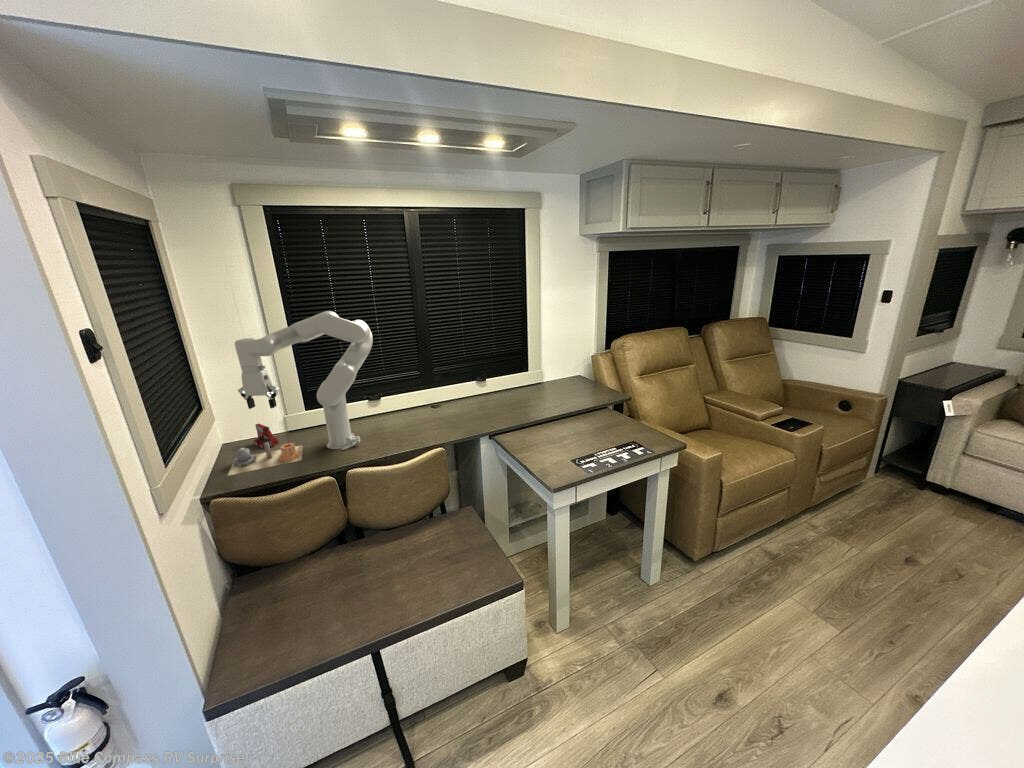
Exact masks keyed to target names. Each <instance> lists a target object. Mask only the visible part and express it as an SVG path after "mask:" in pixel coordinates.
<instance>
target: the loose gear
mask: <svg viewBox="0 0 1024 768" xmlns="http://www.w3.org/2000/svg"><path fill="white" fill-rule="evenodd" d="M295 447H296V445H295V443H294V442H289V443H288V442H287V443H285V444H282V445H280V450H281V452H282V454H280V455H279V461H284V462H287V461H291V460H292V461H293V460H295V459H296V458H299V457H300V451H296V450H295Z"/></svg>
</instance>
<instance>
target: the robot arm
mask: <svg viewBox="0 0 1024 768" xmlns="http://www.w3.org/2000/svg"><path fill="white" fill-rule="evenodd" d="M323 335H326V336H330V337H332V338H335V339H339V340H342V341H345V342H348V343H350V344H349V346H348V347H347V349H346V350H345V352H344V353H343V355H342V357H341V358H340V359H339V360H338V361H337V362H336V364H334V366H333V368H332V370H331V371H330V373H329V374H328V375H327V377H326V378H325V380H323V381H322V383H321V384H320V385H319V387H318V390H317V391H316V399H317V402H318V403H319V404H320V405H321V406H322V409H323V414H324V418H325V424H326V431H327V435H328V440H329V441H328V443H326V447H327V448H328V449H334V450H339V449H340V451H344V450H347V449H350V448H352V447H353V446H355V445H356V443H360V442H361V437H360V435H355V434H354V432H352V430H351V429H352V428H351V423H350V417H349V411H348V408H347V407H348V405H347V397H346V393H347V392H348V390H349V389H350V388H351V386H352V385H353V384H354V381H355V380H356V378H357V374H358V371H359V370H360V369H361V367H362V365H363V364H364V362H365V360H366V359H367V357H368V356H369V354H370V352H371V350H372V347H373V341H374V339H373V333H372V331H371V329H370V326H369V325H368V324H367V323H366V322H365V321H363V320H362V319H355V320H352V321H351V320H349V319H345V318H342V317H340V316H339V315H338V314H337V313H336V312H334V311H332V310H325V311H322V312H320V313H317V314H314V315H313V316H310V317H307V318H304V319H302V320H300V321H297V322H295V323H292V324H291V325H290V326H287V327H284V328H281V329H279V330H276V331H273V332H272V333H269V334H266V335H265V336H263V337H260V338H258V339H255V338H252V337H250V338H248V337H247V338H241V339H237V340H235V342H234V347H235V352H236V355H237V359H238V361H239V367H240V370H241V382H242V383H241V385H242V386H241V387H240V388H239V389H237V391H238V394H240V396H241V397H242V398H243V399H244V401H246V403H247V407H248V410H251V409H253V408H255V407H256V403H255V400H254V398H253V397H255V396H257V397H258V396H265V397H266V398H268V405H269V408H270V409H274V408H276V407H277V400H276V398H277V396H278V392H279V389H280V388H279V387H277V386H274V385H273V383H272V380H271V377H270V376H269V373H268V372H267V370H266V365H263V361H262V358H261V357H270V356H273V355H274V354H276V353H277V352H279V351H280V350H282V349H285V348H287V347H290V346H291V345H292V346H293V345H295V344H299V343H306V342H309V341H311V340H312V341H313V340H314V339H317V338H320V337H321V336H323Z"/></svg>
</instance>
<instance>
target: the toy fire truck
mask: <svg viewBox="0 0 1024 768" xmlns="http://www.w3.org/2000/svg"><path fill="white" fill-rule="evenodd" d="M254 426H255V430H256V432H257V438H256V439H254V440H253V444H254V445H255V446H257V447H259V448H261V449H262V450H265V447H264V443H266V442H269V446H270V447H271V448H273V447H276V445H279V443H280V442H279V439H278V438H277V437H275V436H274V435H273V432H272V430H270V427H269V426H266V425H264V424H261V423H256V424H255V425H254Z"/></svg>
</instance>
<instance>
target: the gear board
mask: <svg viewBox="0 0 1024 768" xmlns="http://www.w3.org/2000/svg"><path fill="white" fill-rule="evenodd" d="M303 446H304V445H303V444H302V445H295V450H296V451H300V457H299V458H296V459H295V460H293V461H292V460H291V461H287V462H284V461H279V455H280V454H282V452H281V449H277V450H271V448H270V447H271V446H269V442H266V443H264V447H265V449H264V450H265V452H262V453H256V454H251V456H256V459H257V460H256V462H255V463H252V464H250V466H243V467H241V468H238V466H236V467H234V465H233V463H234V461H233V462H232V465H231V466H230V468H229V471H228V474H227V475H226V476H227V477H229V476H234V475H238V474H242V473H247V472H253V471H257V470H260V469H265V468H266V469H267V468H270V467H271V468H272V467H276V466H281V465H285V464H289V463H294V462H299V461H302V458H303ZM235 459H237V458H236V457H235V458H234V460H235Z"/></svg>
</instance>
